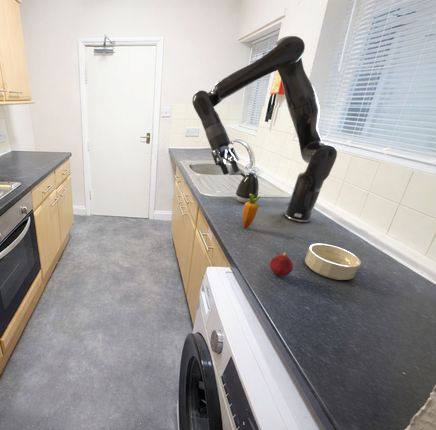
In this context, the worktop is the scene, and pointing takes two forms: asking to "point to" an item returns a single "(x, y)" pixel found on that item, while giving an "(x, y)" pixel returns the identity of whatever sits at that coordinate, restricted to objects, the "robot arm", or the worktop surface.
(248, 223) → the carrot
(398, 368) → the worktop surface
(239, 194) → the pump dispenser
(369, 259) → the worktop surface
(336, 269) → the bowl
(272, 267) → the onion
